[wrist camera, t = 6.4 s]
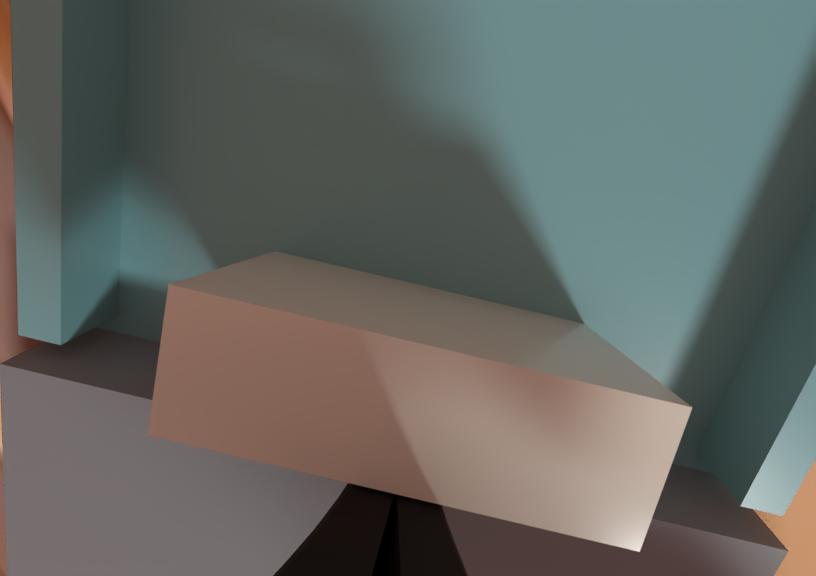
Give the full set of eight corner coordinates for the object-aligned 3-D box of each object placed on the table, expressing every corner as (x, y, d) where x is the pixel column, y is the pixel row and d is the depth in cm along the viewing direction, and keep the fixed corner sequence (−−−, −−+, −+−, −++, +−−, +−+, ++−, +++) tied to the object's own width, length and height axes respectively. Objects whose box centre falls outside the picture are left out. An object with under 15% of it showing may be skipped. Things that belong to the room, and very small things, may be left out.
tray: (1005, -124, 9) (1200, -218, 7) (714, 464, 13) (773, 533, 11) (112, -332, 9) (-1, -496, 7) (93, 317, 13) (18, 354, 11)
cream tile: (556, 414, 12) (584, 323, 12) (639, 552, 8) (692, 407, 7) (259, 343, 12) (275, 251, 12) (148, 435, 8) (168, 283, 7)
